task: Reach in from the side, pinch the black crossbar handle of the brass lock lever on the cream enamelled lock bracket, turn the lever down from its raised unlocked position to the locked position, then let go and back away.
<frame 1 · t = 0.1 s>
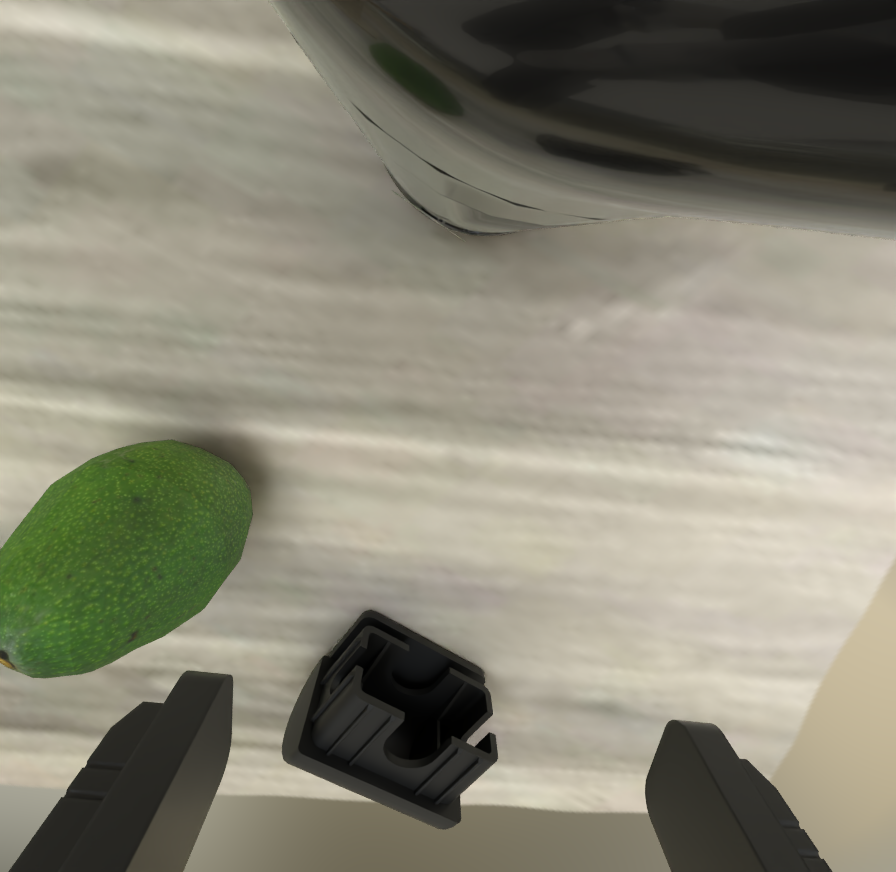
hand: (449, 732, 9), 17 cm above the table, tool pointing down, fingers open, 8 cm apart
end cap: (398, 672, 32), on the table
avocado: (200, 482, 26), on the table
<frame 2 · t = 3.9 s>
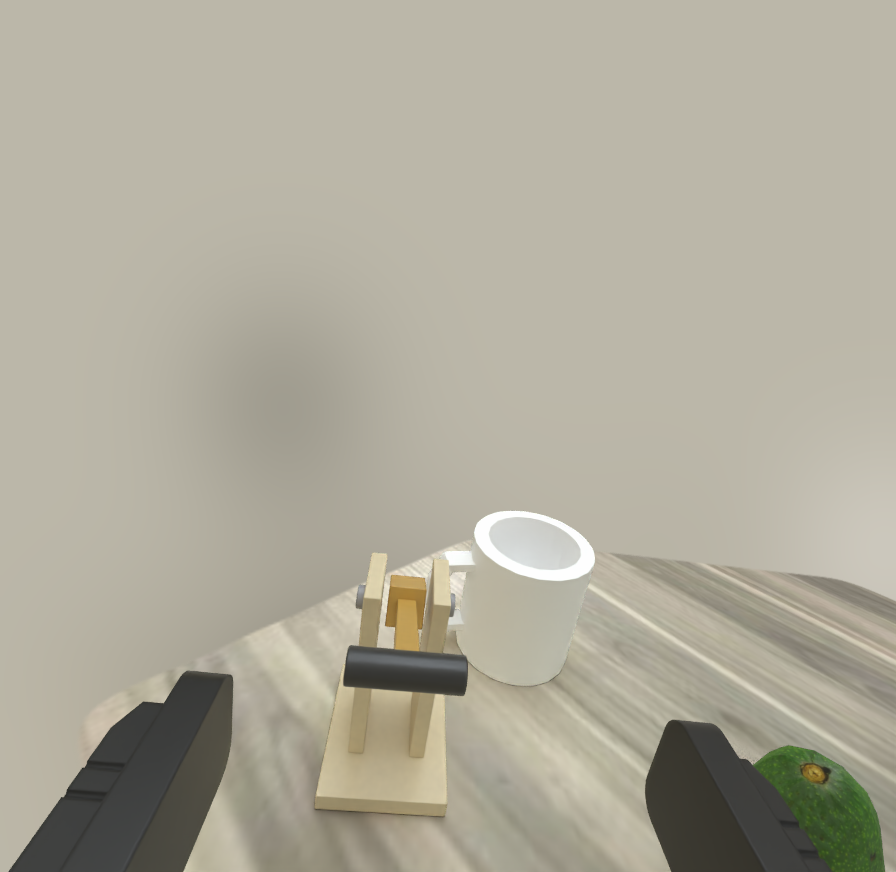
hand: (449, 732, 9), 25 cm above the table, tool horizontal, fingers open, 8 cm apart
lock bracket: (387, 737, 35), on the table
lock lever: (406, 626, 26), point 14 cm above the table, hinge at 24.0°
mug: (497, 640, 45), on the table
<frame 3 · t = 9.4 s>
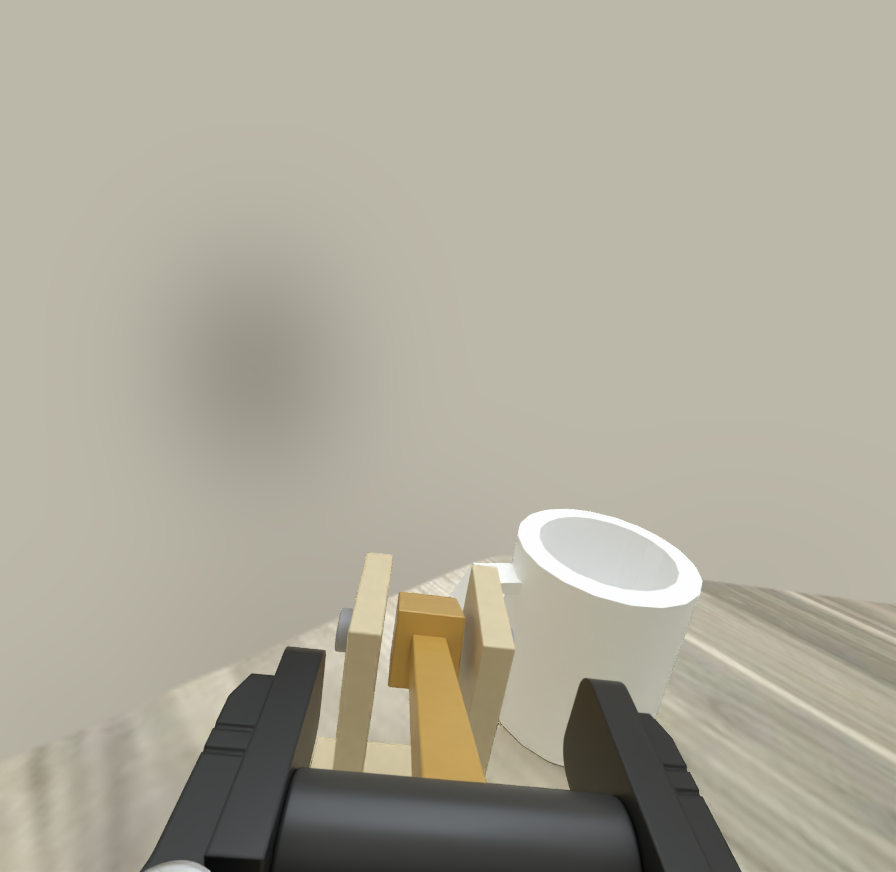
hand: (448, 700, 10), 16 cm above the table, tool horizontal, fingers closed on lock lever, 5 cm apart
lock lever: (433, 694, 13), point 14 cm above the table, hinge at 24.0°, touching gripper
mug: (546, 697, 31), on the table
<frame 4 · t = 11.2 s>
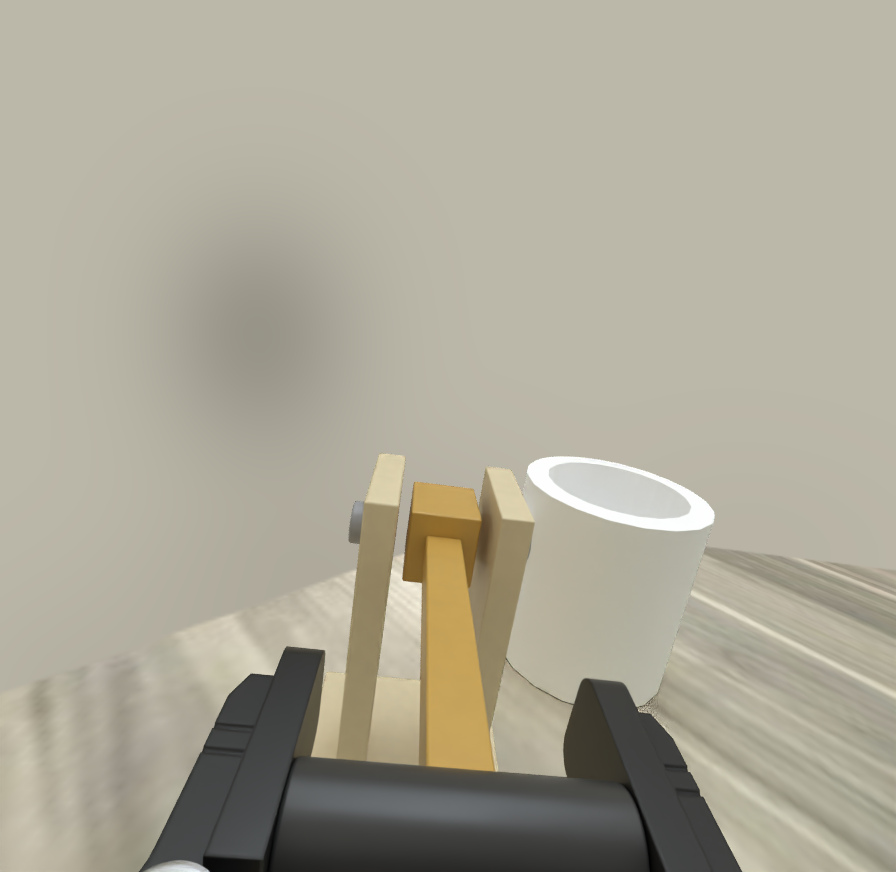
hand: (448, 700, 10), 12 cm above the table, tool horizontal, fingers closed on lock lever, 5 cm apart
lock bracket: (398, 795, 20), on the table
lock lever: (445, 614, 12), point 12 cm above the table, hinge at 2.2°, touching gripper
mug: (557, 645, 31), on the table
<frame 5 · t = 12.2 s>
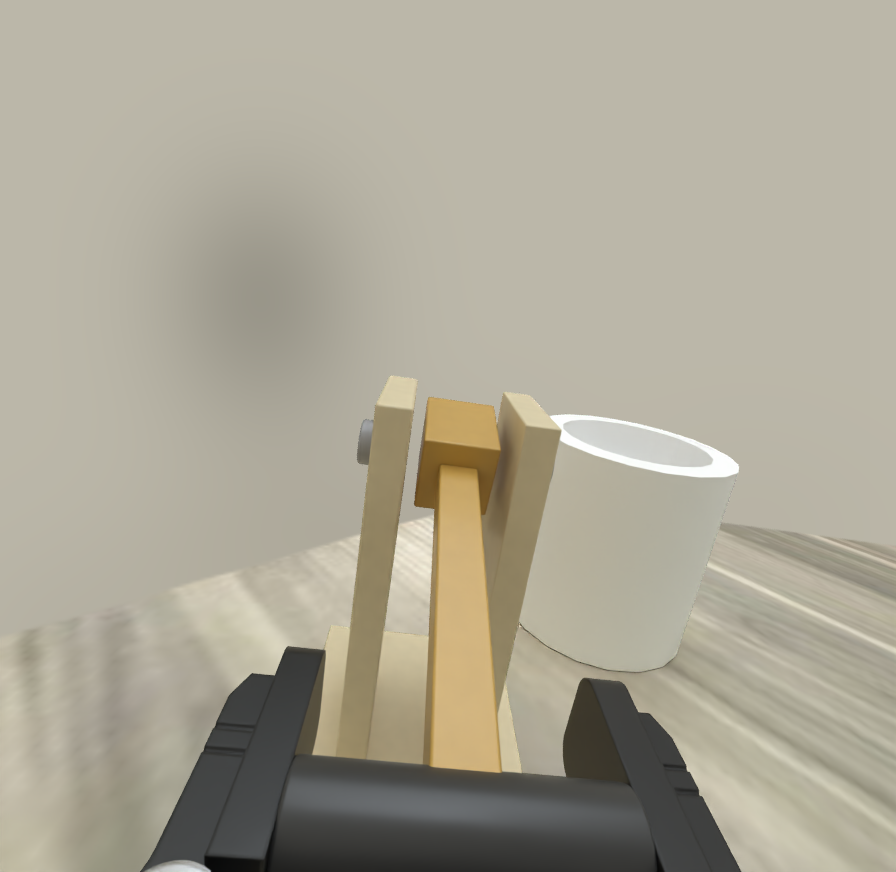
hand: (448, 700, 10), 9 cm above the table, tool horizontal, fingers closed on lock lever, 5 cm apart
lock bracket: (407, 747, 19), on the table
lock lever: (457, 561, 12), point 11 cm above the table, hinge at -13.7°, touching gripper
mug: (569, 609, 30), on the table
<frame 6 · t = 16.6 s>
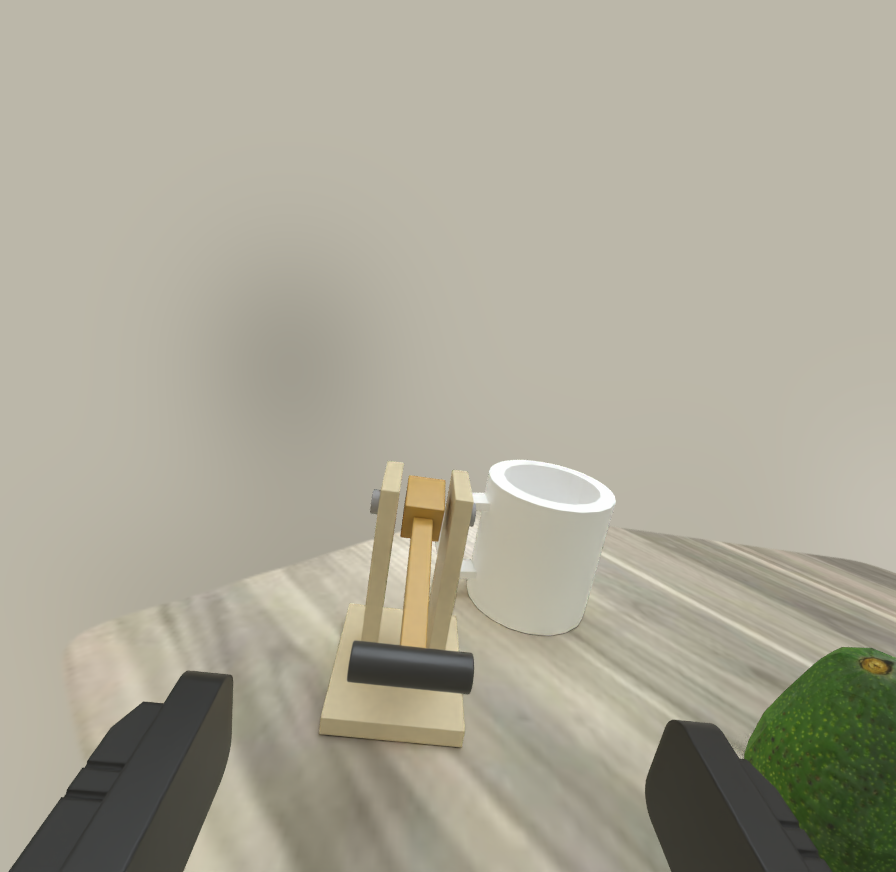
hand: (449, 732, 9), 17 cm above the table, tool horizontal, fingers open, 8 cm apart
lock bracket: (396, 673, 32), on the table
lock lever: (418, 569, 25), point 11 cm above the table, hinge at -14.8°
mug: (511, 595, 43), on the table
avocado: (802, 866, 25), on the table
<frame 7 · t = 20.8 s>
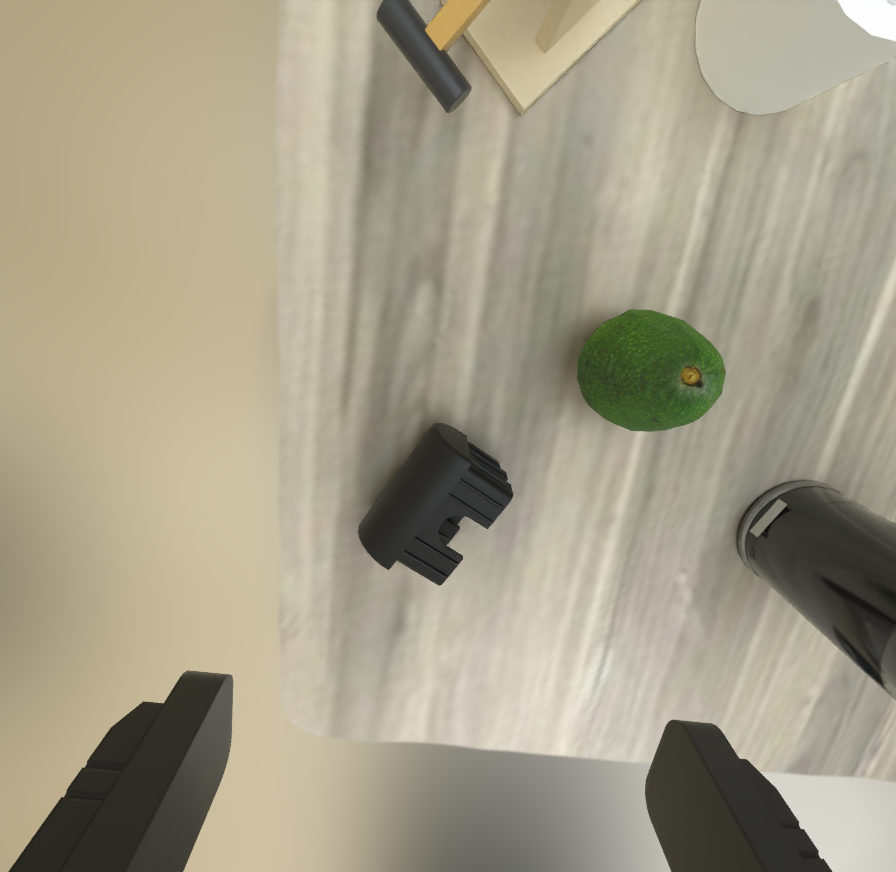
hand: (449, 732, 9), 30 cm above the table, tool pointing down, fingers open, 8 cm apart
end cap: (433, 482, 40), on the table
mug: (763, 7, 31), on the table
avocado: (612, 359, 38), on the table
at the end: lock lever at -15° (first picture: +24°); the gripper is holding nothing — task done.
